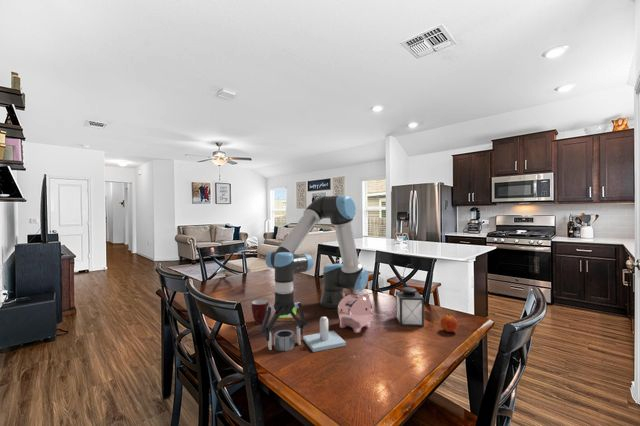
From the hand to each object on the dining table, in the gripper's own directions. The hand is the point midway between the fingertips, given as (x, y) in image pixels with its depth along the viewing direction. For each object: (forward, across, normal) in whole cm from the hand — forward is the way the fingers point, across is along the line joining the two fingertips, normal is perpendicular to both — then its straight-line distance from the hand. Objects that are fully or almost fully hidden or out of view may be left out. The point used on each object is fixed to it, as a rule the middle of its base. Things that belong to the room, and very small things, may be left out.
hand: (284, 345), depth 118 cm
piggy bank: (0, -36, -6) cm, 37 cm away
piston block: (0, -16, +3) cm, 16 cm away
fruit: (0, -72, +14) cm, 73 cm away
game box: (+1, -11, -36) cm, 38 cm away
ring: (0, 0, 0) cm, 0 cm away
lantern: (0, -63, -2) cm, 63 cm away
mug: (0, +5, -28) cm, 29 cm away
